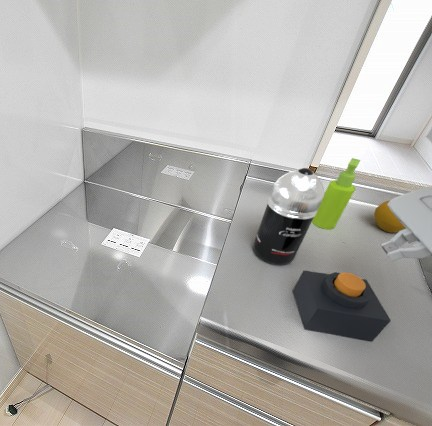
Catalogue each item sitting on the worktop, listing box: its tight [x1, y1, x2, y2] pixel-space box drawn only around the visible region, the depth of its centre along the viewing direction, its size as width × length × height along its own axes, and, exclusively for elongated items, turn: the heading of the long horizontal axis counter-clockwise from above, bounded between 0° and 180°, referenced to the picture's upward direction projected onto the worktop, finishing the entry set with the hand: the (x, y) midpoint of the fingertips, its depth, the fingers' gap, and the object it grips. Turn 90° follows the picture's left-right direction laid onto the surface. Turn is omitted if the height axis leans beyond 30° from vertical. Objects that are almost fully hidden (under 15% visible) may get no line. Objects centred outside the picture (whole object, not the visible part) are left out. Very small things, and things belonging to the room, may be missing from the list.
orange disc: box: [334, 272, 366, 297], centre depth 57 cm, size 4×4×2 cm
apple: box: [373, 199, 406, 234], centre depth 82 cm, size 8×8×9 cm
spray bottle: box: [252, 167, 325, 266], centre depth 70 cm, size 10×10×25 cm
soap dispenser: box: [311, 157, 361, 230], centre depth 82 cm, size 6×7×20 cm
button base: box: [292, 270, 392, 343], centre depth 60 cm, size 12×10×9 cm
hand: (385, 252), depth 51 cm, fingers closed
